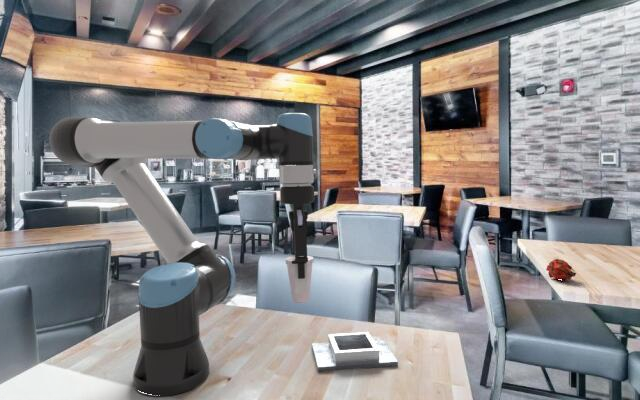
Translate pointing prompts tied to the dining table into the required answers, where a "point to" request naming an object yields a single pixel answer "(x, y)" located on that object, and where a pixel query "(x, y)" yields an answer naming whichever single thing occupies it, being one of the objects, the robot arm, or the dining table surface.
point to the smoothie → (291, 271)
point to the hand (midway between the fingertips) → (300, 287)
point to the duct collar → (352, 352)
